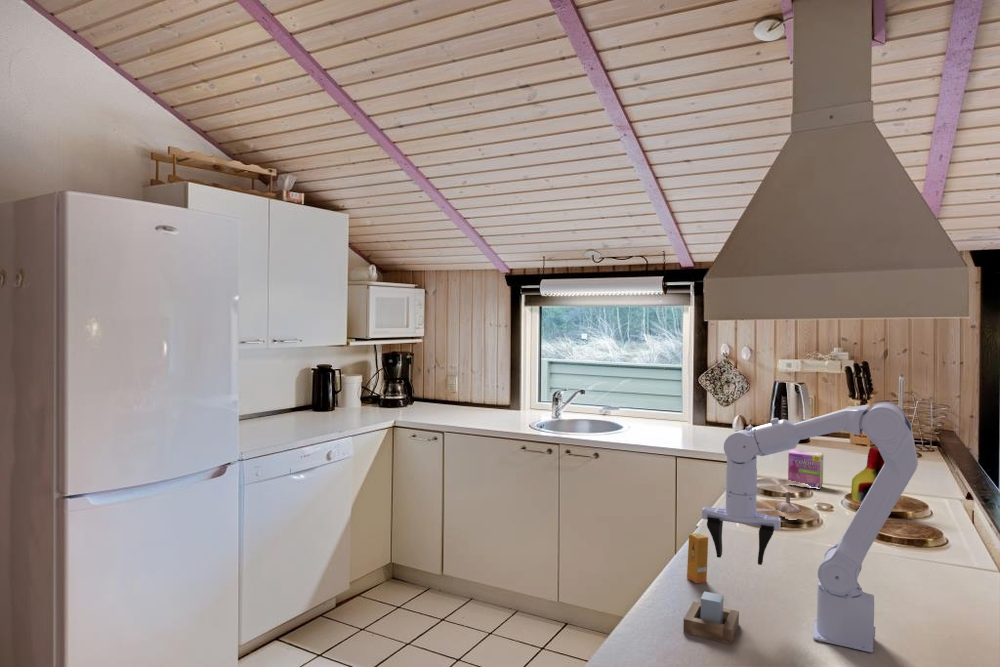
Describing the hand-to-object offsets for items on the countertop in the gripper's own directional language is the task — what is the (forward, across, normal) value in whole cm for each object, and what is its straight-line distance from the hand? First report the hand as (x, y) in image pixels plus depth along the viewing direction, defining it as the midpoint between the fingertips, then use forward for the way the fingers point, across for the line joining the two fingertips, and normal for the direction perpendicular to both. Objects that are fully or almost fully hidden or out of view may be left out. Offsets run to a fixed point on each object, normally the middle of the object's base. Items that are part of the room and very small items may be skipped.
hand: (739, 559), depth 129 cm
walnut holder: (+10, +4, +10) cm, 15 cm away
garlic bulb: (+11, -5, -70) cm, 71 cm away
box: (+11, -8, -113) cm, 114 cm away
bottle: (+11, -27, -91) cm, 95 cm away
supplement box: (+11, +10, -12) cm, 19 cm away
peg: (+10, +4, +10) cm, 15 cm away
